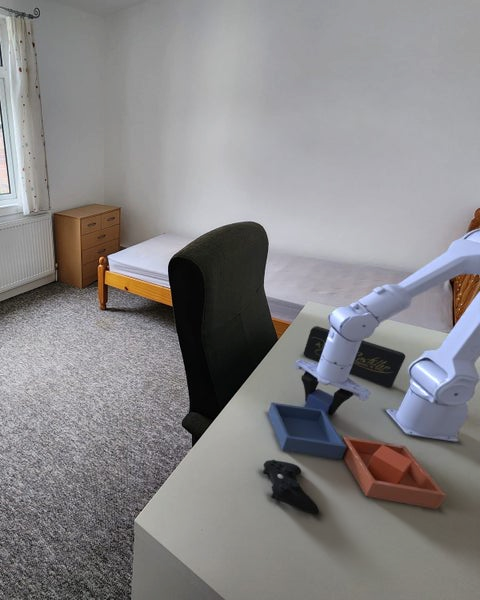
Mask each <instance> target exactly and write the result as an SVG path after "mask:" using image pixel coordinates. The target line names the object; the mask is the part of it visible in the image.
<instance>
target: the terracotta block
mask: <svg viewBox="0 0 480 600" xmlns="http://www.w3.org/2000/svg"><path fill="white" fill-rule="evenodd" d="M411 463H412V460H410V459H408V458H406V457H405V456H403V455H401V454H399V453H397V452H395V451H394V450H392V449H390V448H388V447H386V446H384V445H382V446H381V447H380V448H379V449H378V450H377V451H376V452H375V453H374V454H373V456H372V458H371V460H370V462H369V465H368V467H367V469H368V470H369V472H370V473H371V475H372V476H373V477H375V478H376V479H378V480H380V481H381V482H387V483H393V484H399V483H400V482H401V480H402V479H403V478H404V476H405V474H406V472H407V470H408V469H409V467H410V465H411Z"/></svg>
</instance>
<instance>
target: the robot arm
mask: <svg viewBox="0 0 480 600" xmlns="http://www.w3.org/2000/svg"><path fill="white" fill-rule="evenodd" d="M460 275H480V227H479V228H475V229H473V230H471V231H469V232H467V233H466V234H464V235H463V236H462V237H460V238H458V239H455V240H454V241H452V242H451V244H450V245H449V247H448V249H447V251H445V252H444V253H442V254H441V255H439V256H438V257H437V258H434V259H433V260H432V261H430V262H429V263H427V264H426V265H424V266H423V267H421V268H420V269H418V270H417V271H415V272H414V273H412V274H411V275H409V276H408V277H407V278H405V279H403V280H402V281H400V282H399V283H397V284H383V285H382V286H377V287H375V288H374V289H373V288H372V292H370V293H369V294H367V295H365V296H364V297H362V298H360V299H359V300H357V301H353V302H352V303H350V304H349V305H345V306H340V307H337V308H336V309H334V310H333V311H332V313H331V314H328V316H327V322H328V323H329V325H330V328H329V330H330V332H329V335H328V338H327V341H326V344H325V346H324V349H323V352H322V355H321V358H320V361H319V362H318V364H317V363H313V362H310V361H308V360H307V361H306V360H304V359H301V358H299V359H297V360H296V361H295V363H294V369H296V370H301V371H302V372H304V373H303V374H302V375H301V377H300V378H301V382H302V385H303V388H304V397H305V398H304V402H305V403H306V401H307V398H308V395H309V394H311V393H312V392H313V391H315V390H316V389H318V388H317V387H318V386H319V383H321V384H322V385H325V386H328V385H330V386H333V387H335V388H339V389H337V390H336V391H334V392H333V396H334V397H333V402H332V405H331V407H330V409H329V413H328V415H330V416H329V417H332V416H333V415H335V414H336V412H337V411H338V409H339V408H340V407H341V405H343V403H345V402H346V401H348V400H349V399H350V398H352V397H353V396H356V397H357V398H358V400H360V401H362V402H366V401H367V400H368V399H369V397H370V395H371V393H372V390H370V389H367V388H365V387H363V386H362V385H361V384H359V383H358V382H356V381H355V380H353V379H351V378H350V377H349V376H350V370H351V367H352V365H353V362H354V359H355V357H356V354H357V352H358V349H359V347H360V344H361V342H362V340H363V341H364V340H365V339H369V338H370V337H371V336H372V335H373V334H374V332H375V331H376V328H378V327H379V326H380V325H381V323H383V322H384V321H386V320H388V319H390V318H392V317H393V316H395V315H397V314H400V313H401V312H403V311H405V310H406V309H408V308H410V307H411V304H412V300H413V298H415V297H418V296H420V295H421V294H423V293H425V292H427V291H429V290H431V289H433V288H435V287H437V286H439V285H441V284H444V283H445V282H448V281H450V280H452V279H454V278H456V277H458V276H460ZM479 358H480V290H479V291H478V292H477V293H476V295H475V297H474V298H473V300H471V302H470V304H469V305H468V306H467V308H466V309H465V311H464V312H463V314H462V315H461V316H460V318H459V319H458V321H457V322H456V324H455V325H454V326H453V327H452V329H451V330H450V331H449V333H448V335H447V336H446V337H445V339H444V340H443V341H442V343H441V344H440V345H439V347H438V348H437V349H430V350H425V351H424V352H423V353H422V354H421V355H420V356H419V357H418V358H416V359H415V360H414V361H412V362H411V363H410V364H409V365H408V367H407V374H408V375H409V377H410V380H409V383H410V385H409V387H408V389H407V391H406V393H405V395H404V398H403V399H402V402H401V403H400V406H399V408H398V409H390V408H387V409H386V412H387V414H388V415H389V416H390V417H391V418H392V419H393V421H394V422H395V423H396V424H397V426H399V427H400V429H401V430H402V431H403V432H404V433H405V434H406V435H408V436H413V437H414V436H415V437H421V438H427V439H435V440H441V441H447V442H448V441H449V442H453V443H454V442H455V443H457V442H459V439H458V438H457V435H458V433H459V432H460V430H461V428H462V427H463V425H464V424H465V421H466V420H467V418H468V416H469V407H468V404H467V403H468V402H469V401H470V400H471V399H472V398H473V397H474V395H475V391H476V386H477V385H478V383H479V382H480V376H479V373H478V370H477V368H476V365H475V363H476V362H477V360H478V359H479Z"/></svg>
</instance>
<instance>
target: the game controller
mask: <svg viewBox="0 0 480 600" xmlns="http://www.w3.org/2000/svg"><path fill="white" fill-rule="evenodd" d="M263 467H264V469H263V471H262V474H264V475H267V476H269V477H270V481H271V484H272V485H271V492H272V493H271V495H270V498H271V499H273V500H275V501H276V502H281V503H284V504H287V505H289V506H291V507H293V508H296V509H298V510H300V511H303V512H304V513H309V514H312V515H319V514H320V509H319V507H318V505H317V503H316V502H315V501H314V500H313V499H312V498H311V496H309V495H308V494H307V493H306V492H305V490H304V489H303V488H302V486H301V484H300V482H299V480H298V477H297V476H300V475H301V474H302V469H301V467H300V466H299V465H297V464H295V463H293V462H292V463H291V462H288V461H282V460H276V459H269V460H266V461H265V462H264V463H263Z"/></svg>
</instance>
